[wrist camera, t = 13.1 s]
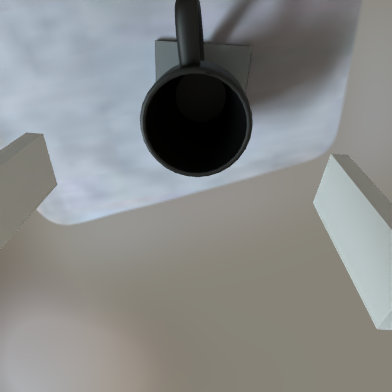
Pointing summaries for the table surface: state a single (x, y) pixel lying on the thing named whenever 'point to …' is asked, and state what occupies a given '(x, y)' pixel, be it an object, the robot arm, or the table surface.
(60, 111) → the table surface
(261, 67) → the table surface
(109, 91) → the table surface
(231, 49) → the coaster
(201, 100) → the mug
